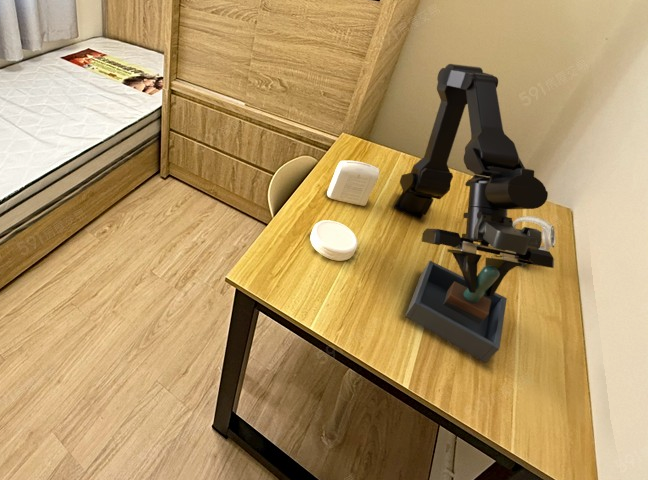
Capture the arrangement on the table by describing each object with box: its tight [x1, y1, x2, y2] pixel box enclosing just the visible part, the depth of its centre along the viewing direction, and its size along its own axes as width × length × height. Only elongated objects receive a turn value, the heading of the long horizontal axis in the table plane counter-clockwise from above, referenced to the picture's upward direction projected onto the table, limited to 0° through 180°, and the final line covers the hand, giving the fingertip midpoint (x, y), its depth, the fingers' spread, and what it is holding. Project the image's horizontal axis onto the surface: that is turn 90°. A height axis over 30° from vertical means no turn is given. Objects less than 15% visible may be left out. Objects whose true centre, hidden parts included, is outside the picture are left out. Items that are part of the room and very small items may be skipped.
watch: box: [513, 215, 556, 267], centre depth 92 cm, size 6×8×11 cm
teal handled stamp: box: [443, 265, 500, 324], centre depth 74 cm, size 6×4×12 cm, turn 49°
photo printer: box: [326, 160, 380, 207], centre depth 107 cm, size 10×4×12 cm, turn 73°
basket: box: [404, 260, 508, 364], centre depth 81 cm, size 14×14×5 cm
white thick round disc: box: [309, 219, 359, 262], centre depth 96 cm, size 10×10×4 cm
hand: (480, 294), depth 73 cm, fingers closed on teal handled stamp, 2 cm apart
